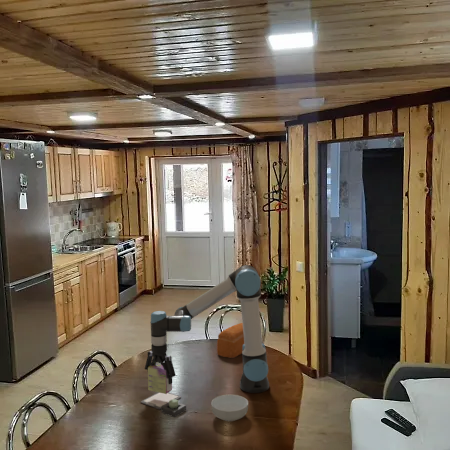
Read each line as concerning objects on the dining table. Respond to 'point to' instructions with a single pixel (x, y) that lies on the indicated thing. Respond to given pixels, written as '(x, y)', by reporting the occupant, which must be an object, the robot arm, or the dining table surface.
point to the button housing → (174, 413)
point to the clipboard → (160, 400)
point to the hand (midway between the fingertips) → (160, 387)
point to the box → (157, 379)
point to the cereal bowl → (229, 407)
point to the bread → (231, 341)
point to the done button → (173, 403)
